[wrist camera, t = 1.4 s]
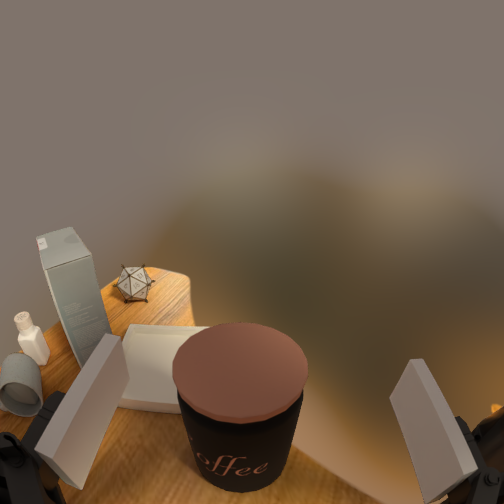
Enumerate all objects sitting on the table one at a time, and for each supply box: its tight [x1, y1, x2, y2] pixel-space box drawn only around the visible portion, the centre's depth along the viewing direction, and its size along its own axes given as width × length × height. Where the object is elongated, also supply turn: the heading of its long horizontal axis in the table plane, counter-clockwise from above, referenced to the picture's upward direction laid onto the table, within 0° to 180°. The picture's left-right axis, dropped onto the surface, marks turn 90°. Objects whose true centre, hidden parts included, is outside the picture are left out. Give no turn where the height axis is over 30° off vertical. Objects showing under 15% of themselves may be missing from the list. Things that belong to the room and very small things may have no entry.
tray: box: [117, 324, 209, 414], centre depth 42 cm, size 17×17×2 cm
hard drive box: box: [36, 227, 112, 369], centre depth 42 cm, size 16×8×20 cm, turn 44°
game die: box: [113, 264, 155, 303], centre depth 59 cm, size 9×8×10 cm
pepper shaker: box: [14, 312, 50, 365], centre depth 38 cm, size 4×4×10 cm
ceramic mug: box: [0, 352, 43, 417], centre depth 29 cm, size 11×8×8 cm
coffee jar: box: [172, 322, 308, 493], centre depth 25 cm, size 11×11×18 cm
